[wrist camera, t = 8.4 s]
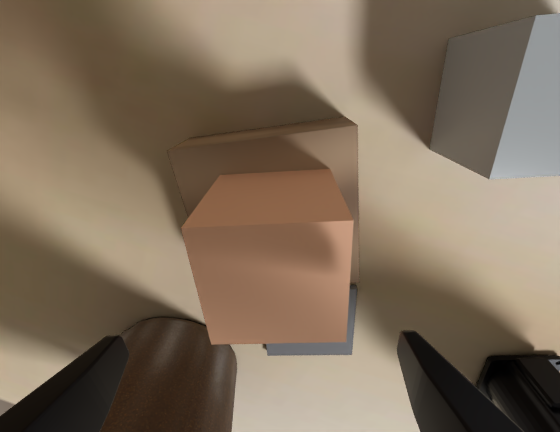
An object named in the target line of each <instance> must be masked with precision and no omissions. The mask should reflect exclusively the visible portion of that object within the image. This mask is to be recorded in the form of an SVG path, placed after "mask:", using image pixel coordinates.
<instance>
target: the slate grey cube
mask: <svg viewBox="0 0 560 432" xmlns="http://www.w3.org/2000/svg"><path fill="white" fill-rule="evenodd" d="M429 149H430V150H432V151H434V152H436V153H438V154H440V155H442V156H444V157H446V158H448V159H450V160H452V161H454V162H456V163H458V164H460V165H462V166H464V167H466V168H468V169H470V170H472V171H474V172H476V173H478V174H480V175H482V176H484V177H486V178H488V179H505V178H525V177H545V176H560V13H557V14H546V15H536V16H532V17H528V18H524V19H521V20H517V21H513V22H509V23H506V24H502V25H498V26H494V27H491V28H487V29H483V30H480V31H476V32H472V33H468V34H465V35H461V36H457V37H453V38H450V39H449V40H448V46H447V51H446V57H445V63H444V68H443V74H442V80H441V86H440V91H439V97H438V103H437V108H436V114H435V120H434V126H433V131H432V137H431V143H430V148H429Z"/></svg>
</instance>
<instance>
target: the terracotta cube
mask: <svg viewBox="0 0 560 432" xmlns="http://www.w3.org/2000/svg"><path fill="white" fill-rule="evenodd" d="M353 224H354V220H353V218H352V216H351V213H350V211H349V209H348V207H347V205H346V202H345V200H344V198H343V196H342V194H341V192H340V189H339V187H338V185H337V183H336V181H335V178H334V176H333V174H332V172H331V170H330V169H318V170H299V171H281V172H263V173H244V174H226V175H219V177H218V178H217V180H216V181H215V182H214V184H213V185H212V186H211V188H210V189H209V190H208V192H207V193H206V194H205V196H204V197H203V199H202V200H201V201H200V203H199V204H198V205H197V207H196V208H195V209H194V211H193V212H192V213H191V215H190V216H189V218H188V219H187V220H186V222H185V223H184V224H183V226H182V227H181V231H182V234H183V238H184V242H185V246H186V250H187V254H188V257H189V261H190V265H191V269H192V273H193V277H194V280H195V284H196V288H197V292H198V296H199V300H200V303H201V307H202V311H203V315H204V319H205V322H206V326H207V330H208V334H209V338H210V342H211V345H214V344H270V343H326V342H346V337H347V321H348V305H349V289H350V273H351V257H352V240H353Z"/></svg>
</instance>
